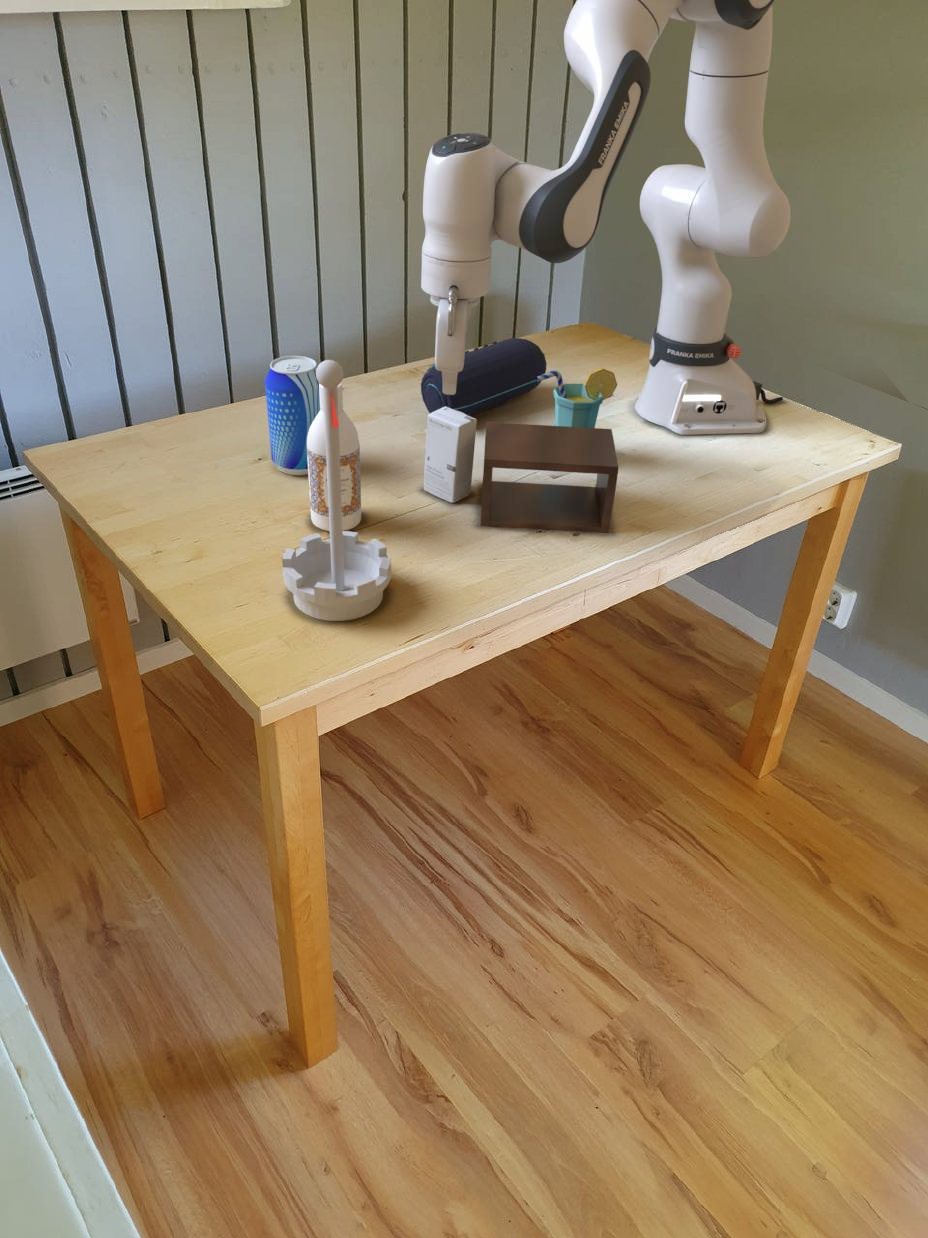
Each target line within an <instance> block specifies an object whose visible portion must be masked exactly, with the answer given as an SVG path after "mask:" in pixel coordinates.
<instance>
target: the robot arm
mask: <svg viewBox="0 0 928 1238" xmlns="http://www.w3.org/2000/svg"><path fill="white" fill-rule="evenodd" d="M774 2H775V0H576V1H575V2H574V5H573V7H572V9H571V11H570V12H569V15H568V18H567V21H566V24H565V27H564V29H563V45H564V46H563V47H564V52H565V56H566V60H567V62H568V65H569V66H570V68H571V70H572V71H573V73H574V74H575V76H576V77H577V78H578V80H580V82H581V83H582V84H583V85H584V87H586V89H587V90H588V91H589V92H591V93H592V94H593V103H592V108H591V110H590V113H589V115H588V117H587V120H586V121H585V124H584V127H583V129H582V131H581V133H580V136H579V138H578V140H577V143H576V145H575V147H574V149H573V152H572V154H571V157H570V158H569V160H568V162H567V163H566V164H565V165H563V166H562V167H560V168H557V169H554V170H552V169H548V168H545V167H541V166H538V165H534V164H532V163H531V162H530V163H529V162H525V161H522V160H520V159H518V158H516V157H514V156H511V155H509V154H507V153H505V152H504V151H502V150H501V149H499V148H498V147H497V146H496V145H495V144H494V143H493V141H492V139H491V137H489V136H487V135H485V134H482V133H477V132H476V133H475V132H465V133H460V132H459V133H455V134H454V133H453V134H450V135H447V136H444V137H442V138H440V139H439V140H437V141H436V142H435V143H433V145H432V146H431V148H430V150H429V153H428V157H427V160H426V165H425V171H424V178H423V179H424V180H423V189H422V190H423V192H422V194H423V195H422V197H423V198H422V218H423V222H424V227H425V228H424V229H425V235H424V240H423V243H422V246H421V269H420V270H421V277H420V288H421V290H422V291H423V292H424V293H426V294H428V295H429V296H430V303H431V304H432V305H433V306H435V307H437V313H436V320H435V339H434V340H435V345H434V364H435V368H436V370H438V371H442V380H443V390H442V391H443V393H444V394H447V395H454V394H455V393H456V386H457V375H458V372H461V371H462V370H463V366H464V359H465V352H466V351H467V350H466V349H467V342H468V341H467V340H468V334H469V326H470V325H469V324H470V319H471V313H472V309H473V308H475V307H477V306H478V305H479V304H480V298H481V297H484V296H486V295H488V294H489V292H490V284H491V283H490V282H491V270H492V269H491V267H492V254H493V253H492V244H493V242H494V241H499V240H500V241H503V242H504V243H505V244H509V245H511V246H513V247H514V246H515V247H517V248H519V249H523V250H526V251H527V252H529V253H531V254H532V255H535V256H537V257H538V258H540V259H542V260H544V261H546V262H548V263H551V264H561V263H565V262H568V261H569V260H572V259H574V258H575V257H576V256H578V255H579V254H580V253H581V252H583V251H584V250H585V249H586V248H587V246H588V245H589V244H590V242H591V241H592V240H593V238H594V236H595V234H596V232H597V228H598V226H599V222H600V218H601V214H602V210H603V208H604V207H603V206H604V203H605V199H606V197H607V194H608V192H609V189H610V187H611V184H612V182H613V180H614V178H615V175H616V173H617V171H618V169H619V166H620V164H621V162H622V159H623V157H624V154H625V152H626V151H627V148H628V146H629V143H630V141H631V139H632V136H633V134H634V131H635V130H636V127H637V124H638V123H639V120H640V117H641V115H642V113H643V109H644V107H645V104H646V101H647V98H648V95H649V92H650V87H651V79H652V75H651V74H652V73H651V69H650V66H649V59H650V57H651V53H652V51H653V49H654V47H655V45H656V44H657V41H658V40H659V38H660V36H661V35H662V33H663V31H664V30H665V27H666V25H667V23H668V22H669V19H672V20H676V21H680V22H686V23H694V24H695V31H694V36H693V41H692V46H691V53H690V62H689V71H688V73H689V74H688V81H687V91H686V102H685V113H684V129H685V132H686V134H687V136H688V138H689V139H690V141H691V142H692V143H693V144H694V145H695V147H696V148H697V149H698V151H699V153H700V156H701V157H702V160H703V163H704V167H703V166H699V165H694V164H690V163H687V164H686V163H683V164H682V163H678V164H665V165H661V166H658V167H657V168H656V169H654V170H653V171H652V172H651V174H650V175H649V176H648V177H647V179H646V180H645V182H644V184H643V186H642V189H641V192H640V195H639V196H640V197H639V213H640V215H641V219H642V221H643V223H644V224H645V225H646V226H647V228H648V230H649V231H650V233H651V235H652V237H653V241H654V243H655V246H656V249H657V252H658V256H659V262H660V269H661V281H662V283H661V295H660V305H659V312H658V318H657V326H656V327H655V328H654V329H653V332H652V333H653V334H652V337H651V342H650V346H649V355H648V359H649V362H648V363H649V366H648V370H647V372H646V377H645V378H644V379H645V380H644V382H643V385H642V389H641V391H640V393H639V396H638V398H637V400H636V402H635V404H634V411H635V412H636V413H637V414H638V415H639V416H640V417H641V418H642V419H644V420H645V421H648V422H650V423H653V424H655V425H658V426H661V427H664V428H667V429H669V431H671V432H674V433H676V434H678V435H682V436H687V435H689V436H690V435H692V436H693V435H723V434H725V435H727V434H729V435H730V434H758V433H762V432H763V431H765V430H766V429H765V428H766V426H767V415H766V413H765V411H764V409H763V408H762V406H761V405H760V404H759V403H757V401H759V400H760V398H761V401H762V402H763V403H764V404H767V405H773V404H776V403H779V402H783V401H784V397H783V396H778V397H776V398H773V399H768V398H767V395H766V391H765V390H764V389H763V388H762V387H763V383H760V382H757V381H755V380H752V377H750V375H749V374H748V373H747V372H746V371H745V370H744V369H742V367H740V365H738V363H736V362H735V361H734V360H737V359H738V358H739V357H741V355H742V352H741V349H740V347H739V345H738V344H736V343H735V341H734V340H733V339H732V338H731V337H730V336H729V335H728V334H727V333H726V332H725V331H726V326H727V321H728V316H729V313H730V307H731V302H732V298H733V297H732V296H733V294H732V293H733V292H732V286H731V284H730V281H729V279H728V278H727V277H726V276H725V274H724V273H723V272H722V270H721V269H720V266H719V264H718V262H717V257H716V253H719V254H723V255H726V256H729V257H732V258H740V259H741V258H743V259H763V258H765V257H767V256H770V255H771V254H772V253H774V252H775V251H776V249H778V248H779V247H780V245H782V242H783V241H784V240H785V238H786V236H787V234H788V231H789V228H790V224H791V219H792V217H791V216H792V215H791V213H792V212H791V205H790V202H789V198H788V197H787V195H786V194H785V193H784V191H783V190H782V189H781V187H780V186H779V185H778V183H777V181H776V179H775V177H774V175H773V172H772V169H771V166H770V164H769V160H768V157H767V152H766V147H765V141H764V140H765V139H764V116H765V105H766V97H767V96H766V94H767V88H768V79H769V72H770V65H771V57H772V48H773V47H772V46H773V30H774V29H773V25H774V24H773V20H774V19H773V18H774V17H773V15H774V14H773V4H774ZM715 252H716V253H715Z"/></svg>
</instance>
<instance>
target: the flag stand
mask: <svg viewBox="0 0 928 1238" xmlns="http://www.w3.org/2000/svg"><path fill="white" fill-rule="evenodd" d="M343 369H344V368H343V367H342V366H341V364H340V363H339V362H338V361H336V360H333V359H325V360H322V361H321V362H320V363H319V364H317V369H316V378H317V380H318V382H319V383H320V384H321V385H322V386H323V396H324V418H325V440H326V462H327V484H328V506H329V527H330V531H329V538H327V539H326V538H325V539H322V536H321V534H320V533H319V532H316V533H312V534H309V535H306V536H304V537H302V538H300V547H298V548H296V549H294V548H291V547H287V549H286V550H285V551H284V552H283V555H282V557H281V558H282V559H281V563H282V575H283V582H284V584H285V587H286V588H287V589H288V590H289V591H290V593H291V594H293V602H294V604H295V606H296V607H297V609H299V611H301V612H302V613H303V614H305V615H307V616H309V617H311V618H315V619H317V620H323V621H328V622H343V621H350V620H355V619H359V618H362V617H364V616H367V615H369V614H371V613H372V612H374V611H375V610H376V609H377V608H378V607H379V606H380V605H381V602H382V601H383V598H384V597H383V596H384V590H385V589H386V588H387V587H388V585H389V583H390V581H391V578H392V557H389V556H388V548H387V546H386V545H385V544H384V543H383V542H382V541H381V540H379V539H377V538H373V539H371V540H369V541H368V542H366V541H362V540H359V532H356V531H350V530H346V531H343V530H342V503H341V475H340V448H339V421H338V394H337V386H338V385H339V384H340V383H342V382H343V379H344V375H345V374H344V370H343Z"/></svg>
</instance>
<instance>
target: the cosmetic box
mask: <svg viewBox="0 0 928 1238" xmlns="http://www.w3.org/2000/svg"><path fill="white" fill-rule="evenodd" d="M426 417H427V418H426V434H425V452H424V453H425V455H424V473H423V490H424V491H425V492H427V493H429V494H431V495H433V496H436V497H437V498H439V499H441V500H444V501H445V502H448V503H451V504H454V503H456V502H459V501H460V500H463V499H464V498H466V497H468V496H469V495H471V492H472V481H473V468H474V457H475V446H476V436H477V435H476V434H477V423H478V420H477V418H475V417H472V416H468V415H466V414H464V413H462V412H460V411H456V410H453V409H451V408H448V407H446V406H445V407H443V408H441V409H438V410H436V411H434V412H432V413H430V412H429V413H428V414H427V416H426Z"/></svg>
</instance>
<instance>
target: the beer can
mask: <svg viewBox="0 0 928 1238" xmlns="http://www.w3.org/2000/svg"><path fill="white" fill-rule="evenodd" d="M269 367H270V368H269V370H268V372H267V374H266V376H265V378H264V386H265V397H266V399H265V400H266V410H267V419H268V420H267V421H268V433H269V434H268V435H269V444H270V457H271V461H272V463H273V464H274V465H275V466H276V467H277V469H278V470H279V471H280V472H281V473H284V474H286V475H290V476H308V461H307V436H308V431H309V428H310V426H311V424H312V422H313V421H314V419H315V417H316V416H317V414H318V413H319V411H320V394H319V384H320V383H319V382H318V380H317V378H316V369H317V367H318V364H317V361H316V360H314V358H311V357H308V356H304V355H303V356H302V355H285V356H281V357H277V358H275V359H273V360H272V361H271V362H270V363H269Z"/></svg>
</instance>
